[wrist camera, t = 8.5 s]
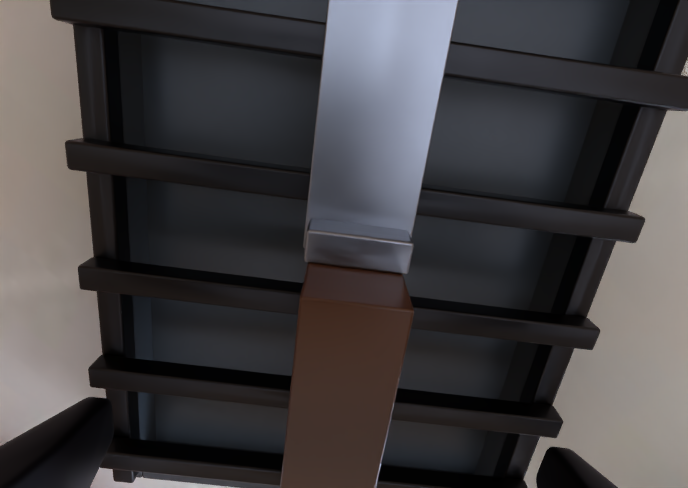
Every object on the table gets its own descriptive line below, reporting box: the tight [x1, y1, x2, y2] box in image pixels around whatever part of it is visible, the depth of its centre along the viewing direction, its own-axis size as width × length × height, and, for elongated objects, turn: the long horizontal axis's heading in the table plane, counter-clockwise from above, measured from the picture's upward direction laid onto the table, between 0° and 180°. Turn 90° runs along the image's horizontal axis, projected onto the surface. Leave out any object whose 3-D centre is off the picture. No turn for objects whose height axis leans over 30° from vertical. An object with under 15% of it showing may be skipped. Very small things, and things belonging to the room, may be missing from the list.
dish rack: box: [50, 0, 688, 488], centre depth 11 cm, size 24×14×3 cm, turn 172°
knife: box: [280, 0, 459, 488], centre depth 8 cm, size 21×3×3 cm, turn 173°
